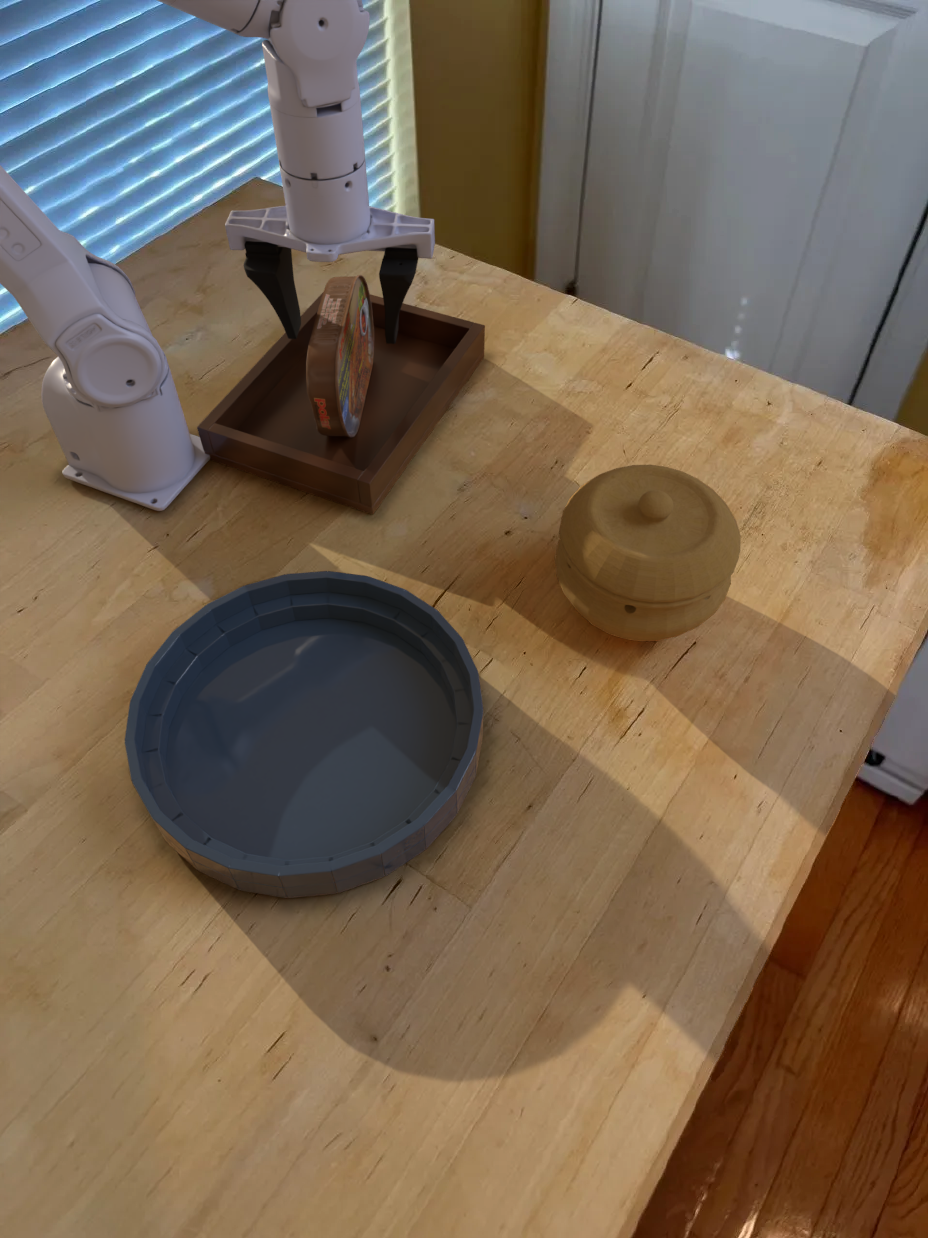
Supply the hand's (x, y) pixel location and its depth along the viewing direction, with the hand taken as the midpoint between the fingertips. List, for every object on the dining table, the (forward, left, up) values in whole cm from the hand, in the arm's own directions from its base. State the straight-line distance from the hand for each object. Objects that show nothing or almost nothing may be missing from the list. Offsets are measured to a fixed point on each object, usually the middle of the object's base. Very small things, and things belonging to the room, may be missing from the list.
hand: (343, 333), depth 73 cm
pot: (+28, -10, -7) cm, 31 cm away
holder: (0, 0, -7) cm, 7 cm away
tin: (0, 0, -6) cm, 7 cm away
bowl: (+13, -29, -7) cm, 33 cm away
